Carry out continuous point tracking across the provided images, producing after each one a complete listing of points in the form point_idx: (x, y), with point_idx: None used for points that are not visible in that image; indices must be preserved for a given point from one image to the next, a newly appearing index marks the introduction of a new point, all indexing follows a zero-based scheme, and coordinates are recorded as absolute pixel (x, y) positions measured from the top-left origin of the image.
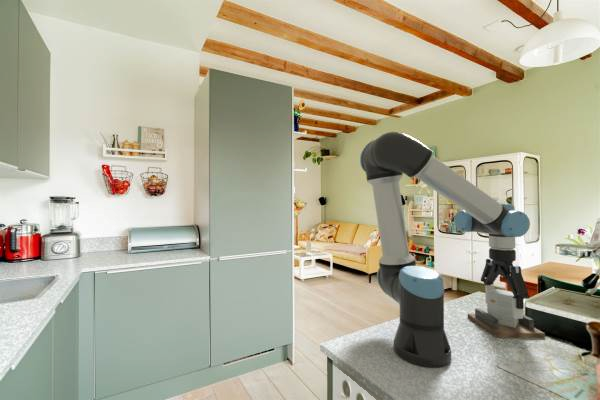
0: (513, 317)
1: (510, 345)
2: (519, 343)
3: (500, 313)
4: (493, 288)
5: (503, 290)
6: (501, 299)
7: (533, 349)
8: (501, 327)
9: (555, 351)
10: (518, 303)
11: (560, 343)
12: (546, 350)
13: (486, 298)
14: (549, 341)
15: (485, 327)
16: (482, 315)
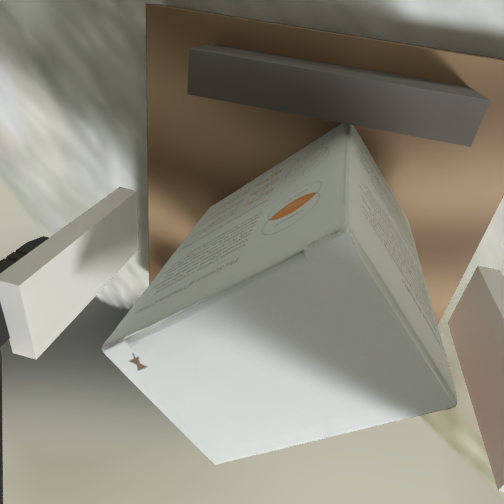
0: (124, 189)
1: (65, 10)
2: (96, 97)
3: (258, 195)
4: (490, 449)
5: (312, 432)
6: (212, 265)
7: (37, 111)
8: (232, 128)
9: (34, 198)
10: (5, 264)
11: (111, 289)
12: (37, 168)
13: (498, 298)
14: (127, 266)
15: (284, 25)
16: (357, 74)
